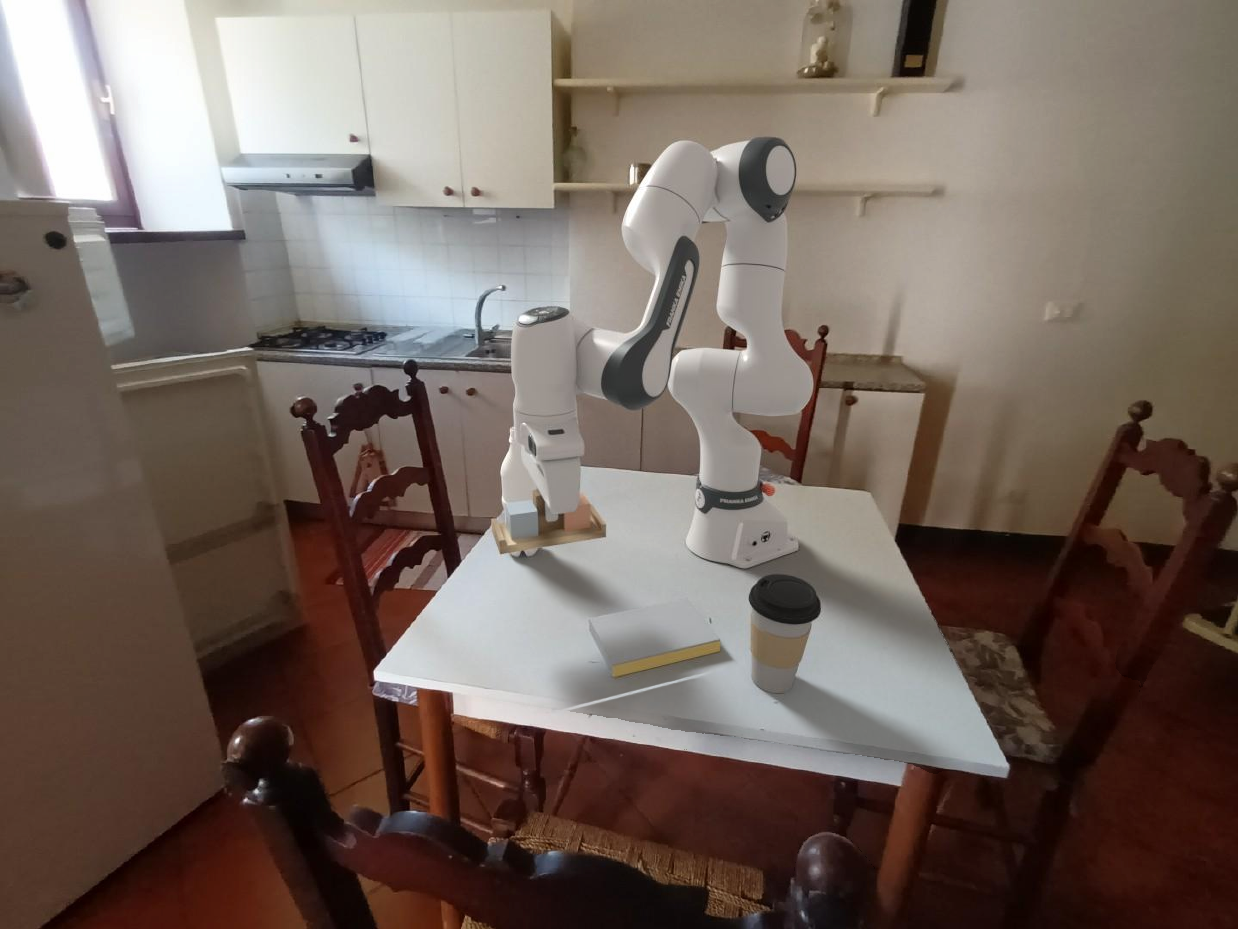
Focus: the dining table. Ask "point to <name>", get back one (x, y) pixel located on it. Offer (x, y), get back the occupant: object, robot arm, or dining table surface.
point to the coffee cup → (780, 629)
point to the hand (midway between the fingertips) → (547, 513)
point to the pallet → (547, 531)
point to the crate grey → (521, 519)
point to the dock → (652, 636)
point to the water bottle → (516, 481)
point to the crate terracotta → (578, 516)
